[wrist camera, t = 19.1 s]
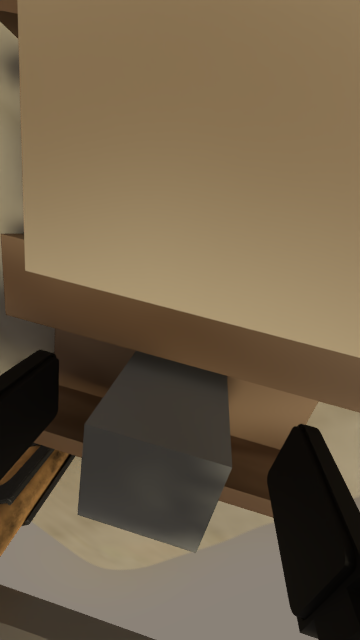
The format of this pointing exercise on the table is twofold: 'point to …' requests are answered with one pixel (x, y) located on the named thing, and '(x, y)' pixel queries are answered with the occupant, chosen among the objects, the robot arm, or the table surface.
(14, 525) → the ammunition clip
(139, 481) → the rubber block
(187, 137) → the birch block
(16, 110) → the table surface
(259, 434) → the slot rack
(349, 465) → the table surface
